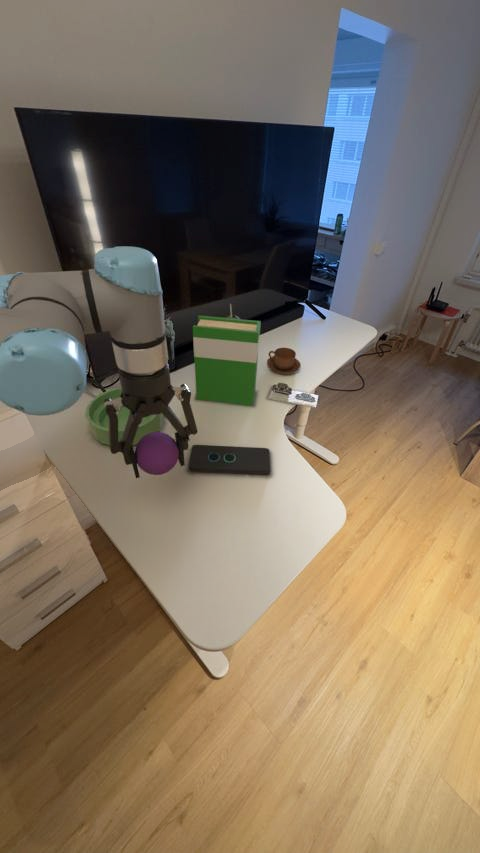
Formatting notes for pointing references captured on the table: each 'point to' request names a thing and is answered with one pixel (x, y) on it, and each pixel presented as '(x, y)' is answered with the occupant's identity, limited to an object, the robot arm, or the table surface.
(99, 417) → the bowl
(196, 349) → the hardback book
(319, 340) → the table surface
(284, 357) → the cup and saucer
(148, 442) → the ball
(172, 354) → the ceramic cat
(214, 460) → the smart home device
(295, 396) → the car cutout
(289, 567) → the table surface
